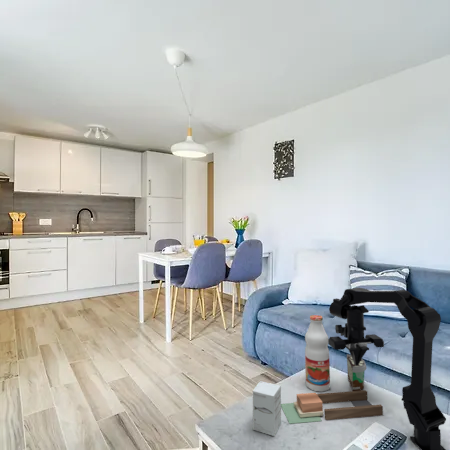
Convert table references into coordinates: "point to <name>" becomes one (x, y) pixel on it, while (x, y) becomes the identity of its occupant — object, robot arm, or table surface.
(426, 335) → the robot arm
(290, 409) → the pad
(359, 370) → the food container
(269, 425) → the supplement box
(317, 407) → the block
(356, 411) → the channel
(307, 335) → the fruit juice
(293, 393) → the table surface
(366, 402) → the trap pit
